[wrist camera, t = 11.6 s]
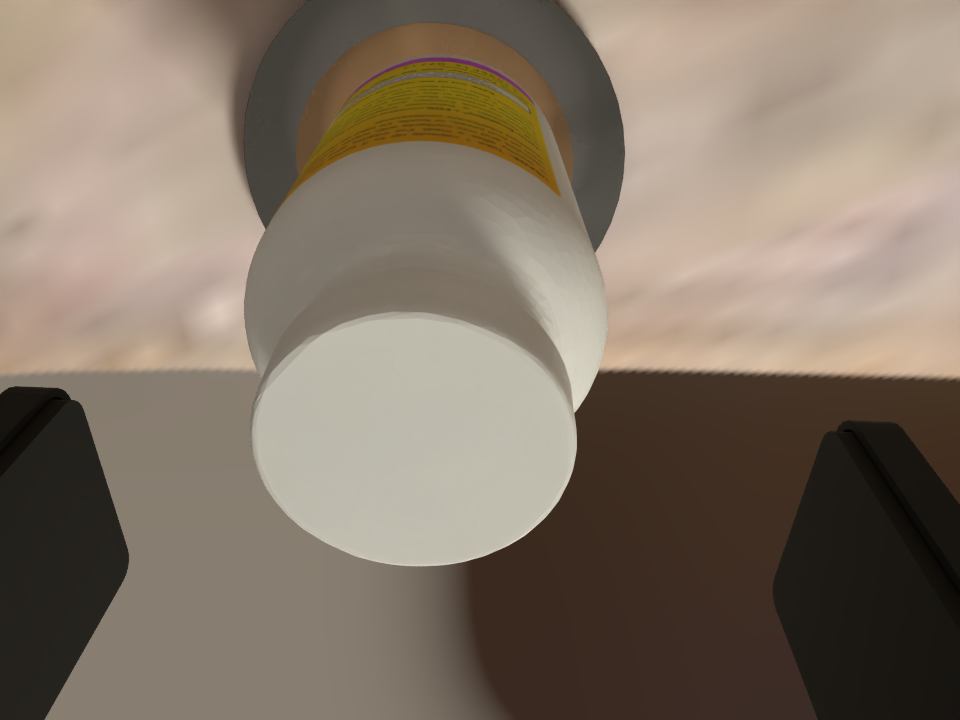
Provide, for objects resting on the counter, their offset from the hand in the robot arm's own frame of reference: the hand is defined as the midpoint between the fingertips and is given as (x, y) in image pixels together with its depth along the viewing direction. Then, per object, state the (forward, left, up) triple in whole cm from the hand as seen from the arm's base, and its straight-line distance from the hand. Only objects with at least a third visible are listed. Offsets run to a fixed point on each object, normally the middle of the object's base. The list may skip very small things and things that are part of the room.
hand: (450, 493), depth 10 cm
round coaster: (+1, 0, -15) cm, 15 cm away
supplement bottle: (+1, 0, -14) cm, 14 cm away
